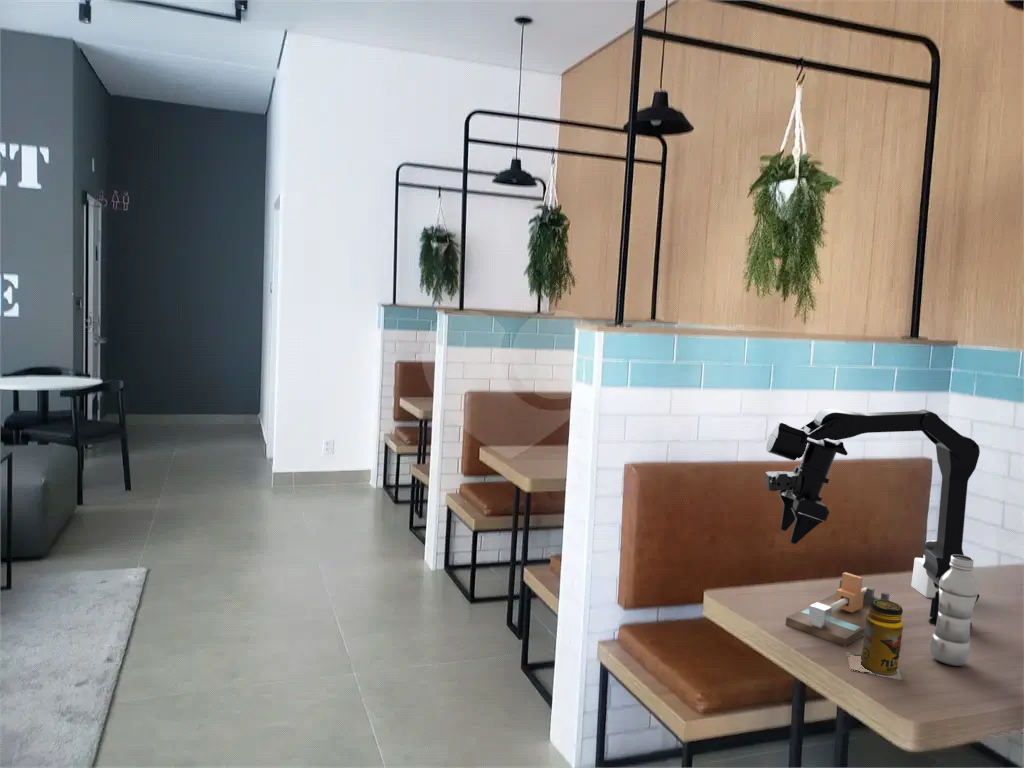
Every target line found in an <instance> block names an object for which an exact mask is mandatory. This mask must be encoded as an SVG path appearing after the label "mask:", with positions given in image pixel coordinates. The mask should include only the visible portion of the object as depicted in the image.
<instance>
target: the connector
mask: <svg viewBox="0 0 1024 768" xmlns="http://www.w3.org/2000/svg"><path fill="white" fill-rule="evenodd" d="M818 602H819V601H817V602H815V603H812V604H811V605H809V606H810V611H809V619H808V620H809V621H812V626H815V627H817V628H820V629H822V628H824V627H826V624H827V623H829V622H830V619H831V610H832V607H830V606H827V605H824V604H821V603H818Z"/></svg>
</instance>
